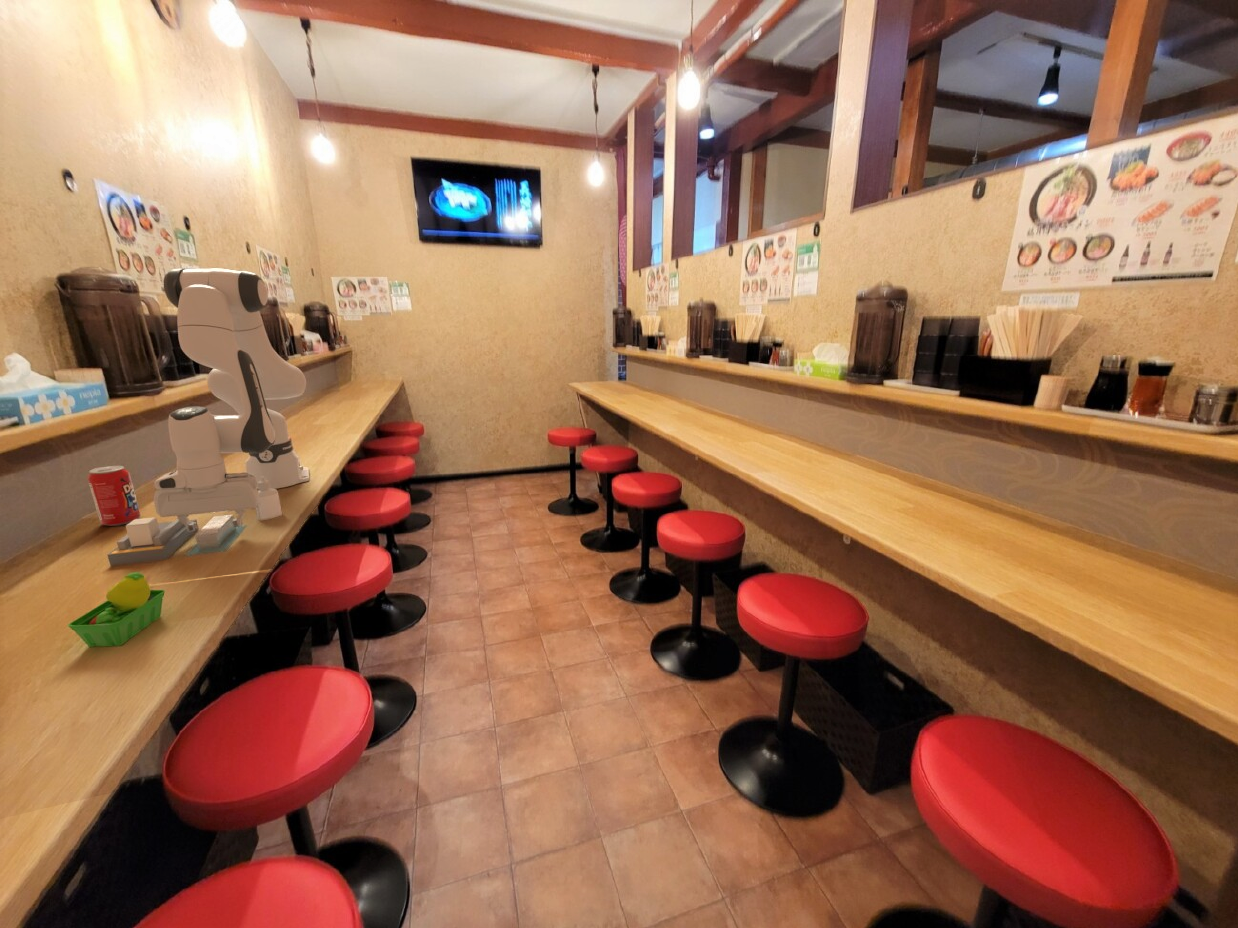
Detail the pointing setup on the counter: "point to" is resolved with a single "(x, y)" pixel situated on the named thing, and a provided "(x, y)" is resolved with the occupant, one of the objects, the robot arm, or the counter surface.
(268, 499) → the eye dropper bottle
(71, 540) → the counter surface
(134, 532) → the switch tab
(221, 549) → the mat
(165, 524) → the switch panel
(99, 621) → the fruit basket
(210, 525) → the bar
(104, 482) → the soda can
